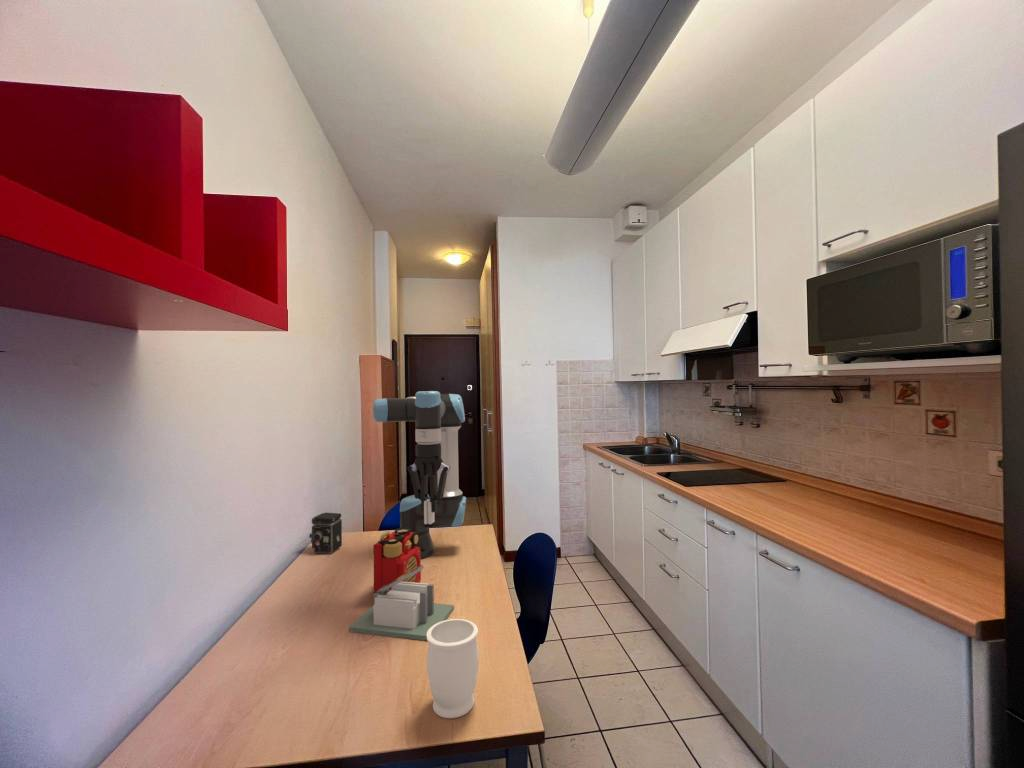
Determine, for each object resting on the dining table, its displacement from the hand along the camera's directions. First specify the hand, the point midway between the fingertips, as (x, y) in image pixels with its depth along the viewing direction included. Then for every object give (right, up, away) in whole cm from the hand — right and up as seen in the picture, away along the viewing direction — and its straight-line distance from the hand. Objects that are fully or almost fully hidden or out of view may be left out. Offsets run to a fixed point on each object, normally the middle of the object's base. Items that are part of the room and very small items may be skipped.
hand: (429, 522), depth 127 cm
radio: (-13, -27, +14) cm, 33 cm away
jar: (+12, -25, -38) cm, 48 cm away
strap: (-7, -16, -4) cm, 18 cm away
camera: (-54, -29, +52) cm, 80 cm away
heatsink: (-7, -26, -4) cm, 28 cm away
